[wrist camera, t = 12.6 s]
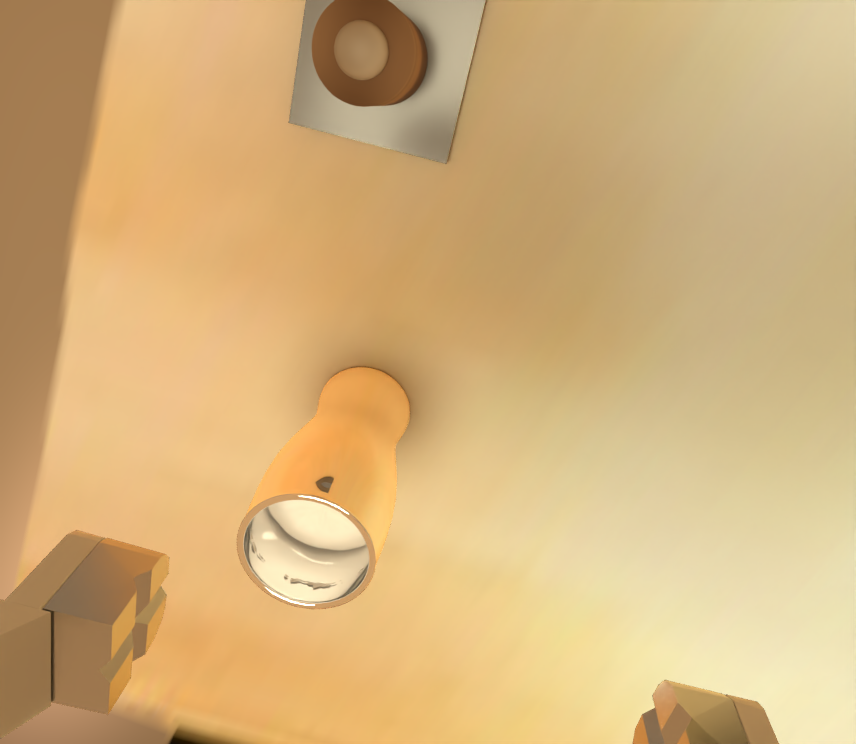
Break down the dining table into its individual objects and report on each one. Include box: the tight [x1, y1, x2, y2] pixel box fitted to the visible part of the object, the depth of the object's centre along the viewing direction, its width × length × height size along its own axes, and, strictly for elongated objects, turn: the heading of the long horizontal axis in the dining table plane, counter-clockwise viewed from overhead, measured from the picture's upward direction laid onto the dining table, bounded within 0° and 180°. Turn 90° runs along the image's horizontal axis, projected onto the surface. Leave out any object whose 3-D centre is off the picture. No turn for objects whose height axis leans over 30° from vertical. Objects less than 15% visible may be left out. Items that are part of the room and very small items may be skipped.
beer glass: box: [237, 367, 410, 609], centre depth 38 cm, size 7×7×15 cm
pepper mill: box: [312, 0, 428, 107], centre depth 32 cm, size 5×5×7 cm
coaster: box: [289, 0, 486, 164], centre depth 36 cm, size 9×9×1 cm
